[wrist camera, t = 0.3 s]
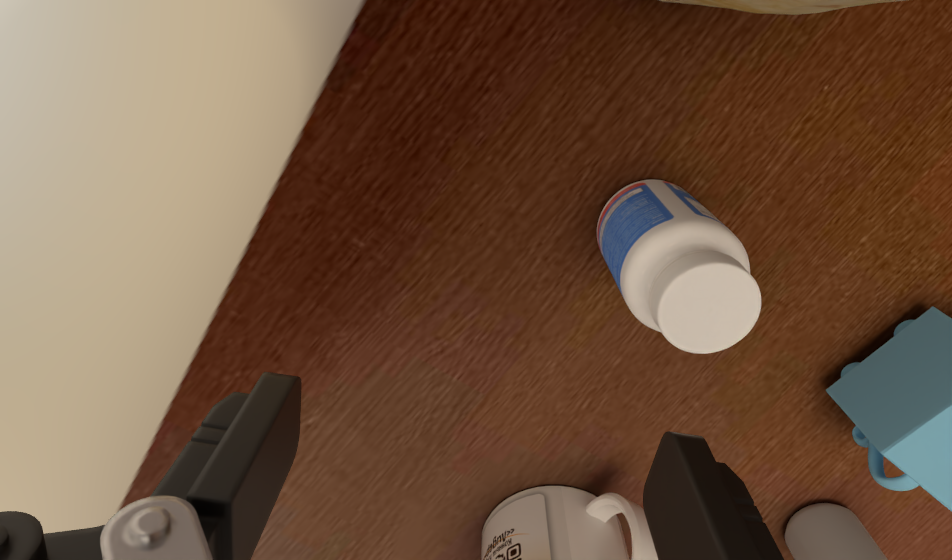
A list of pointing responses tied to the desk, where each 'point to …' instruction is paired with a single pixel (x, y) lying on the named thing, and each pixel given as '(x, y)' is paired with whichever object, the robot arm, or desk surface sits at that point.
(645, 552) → the mug
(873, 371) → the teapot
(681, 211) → the pill bottle
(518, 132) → the desk surface
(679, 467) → the robot arm
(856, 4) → the food model
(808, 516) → the beverage can
